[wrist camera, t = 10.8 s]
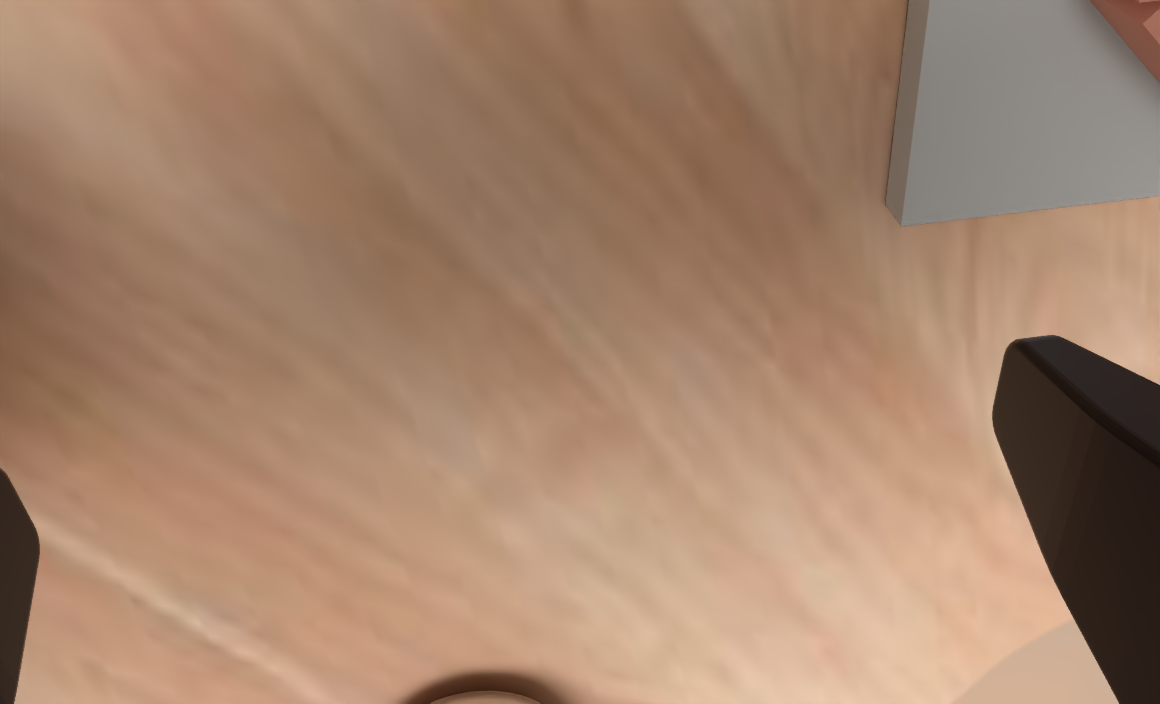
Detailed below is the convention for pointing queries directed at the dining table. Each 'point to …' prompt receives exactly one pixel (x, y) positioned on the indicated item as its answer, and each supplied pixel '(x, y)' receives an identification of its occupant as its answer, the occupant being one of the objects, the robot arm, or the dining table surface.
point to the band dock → (1025, 107)
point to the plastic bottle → (486, 698)
